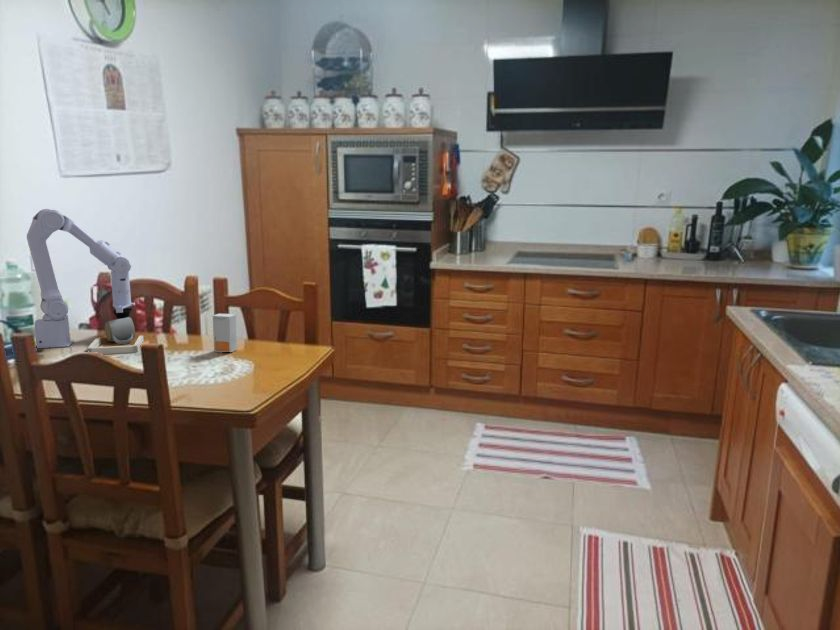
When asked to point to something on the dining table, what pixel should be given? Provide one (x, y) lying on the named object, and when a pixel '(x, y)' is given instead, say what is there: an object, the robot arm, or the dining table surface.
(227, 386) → the dining table surface
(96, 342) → the holder
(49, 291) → the robot arm
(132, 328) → the ceramic mug
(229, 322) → the skincare box
